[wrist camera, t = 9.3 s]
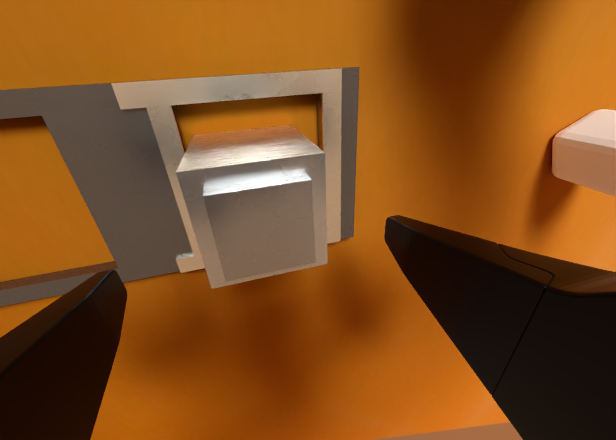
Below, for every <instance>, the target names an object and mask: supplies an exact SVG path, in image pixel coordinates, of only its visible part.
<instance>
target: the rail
mask: <svg viewBox="0 0 616 440" xmlns="http://www.w3.org/2000/svg"><path fill="white" fill-rule="evenodd" d="M358 89H359V67H351V68H336V69H320V70H305V71H289V72H274V73H258V74H243V75H227V76H212V77H196V78H181V79H165V80H150V81H134V82H119V83H103V84H88V85H72V86H57V87H41V88H26V89H10V90H0V119H7V118H19V117H31V116H42V117H43V119H44V121H45V123H46V125H47V127H48V129H49V131H50V133H51V135H52V137H53V139H54V141H55V143H56V145H57V147H58V149H59V151H60V153H61V155H62V157H63V159H64V161H65V163H66V165H67V167H68V169H69V171H70V173H71V175H72V177H73V179H74V181H75V183H76V185H77V187H78V189H79V191H80V192H81V194H82V196H83V198H84V200H85V202H86V204H87V206H88V208H89V210H90V212H91V214H92V216H93V218H94V220H95V222H96V224H97V226H98V228H99V230H100V232H101V234H102V236H103V238H104V240H105V242H106V244H107V246H108V248H109V250H110V252H111V254H112V256H113V258H114V260H115V261H114V262H108V263H103V264H97V265H92V266H86V267H81V268H75V269H70V270H64V271H59V272H54V273H48V274H43V275H37V276H32V277H26V278H21V279H15V280H10V281H4V282H0V307H1V306H6V305H11V304H16V303H21V302H27V301H32V300H37V299H42V298H47V297H52V296H57V295H62V294H66V293H68V292H69V291H71V290H72V289H74V288H75V287H77V286H78V285H80V284H81V283H82V282H84V281H85V280H87V279H88V278H90V277H91V276H93V275H94V274H96V273H97V272H100V271H105V270H111V269H113V270H116V271H117V272H118V274H119V276H120V278H121V280H122V282H128V281H133V280H138V279H143V278H148V277H153V276H158V275H163V274H168V273H173V272H178V271H180V273H183V272H188V271H193V270H198V269H203V268H205V266H204V263H203V259H202V256H201V253H200V250H199V246H198V243H197V240H196V237H195V233H194V230H193V227H192V224H191V220H190V217H189V214H188V211H187V207H186V204H185V201H184V197H183V194H182V191H181V188H180V184H179V181H178V178H177V175H176V171H177V169H178V166H179V164H180V162H181V160H182V158H183V156H184V154H185V152H184V148H183V144H182V141H181V137H180V134H179V130H178V126H177V123H176V119H175V116H174V112H173V108H172V105H182V104H194V103H206V102H219V101H231V100H243V99H255V98H267V97H279V96H291V95H303V94H315V93H317V117H318V146H319V148H320V149H321V150H322V151H324V152H325V168H326V213H327V244H329V243H334V242H339V241H341V239H345V238H350V237H353V233H354V205H355V176H356V147H357V118H358Z"/></svg>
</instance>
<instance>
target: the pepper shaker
mask: <svg viewBox="0 0 616 440" xmlns="http://www.w3.org/2000/svg"><path fill="white" fill-rule="evenodd" d="M552 173H553V175H554V176H556V177H557V178H559V179H562V180H566V181H569V182H572V183H575V184H578V185H581V186H584V187H587V188H590V189H594V190H597V191H600V192H603V193H606V194H609V195H612V196H615V197H616V110H606V109H603V110H597V111H593V112H591V113H589V114H587V115H586V116H584V117H583V118H581V119H579V120H578V121H576V122H574V123H573V124H571V125H569V126H568V127H566V128H565V129H563V130H561V131H560V132H558V133H557V134H556V135H555V137H554V139H553V145H552Z"/></svg>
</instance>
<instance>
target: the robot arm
mask: <svg viewBox="0 0 616 440" xmlns="http://www.w3.org/2000/svg"><path fill="white" fill-rule="evenodd" d="M385 242H386V244H387V245H388V247H389V249H390V251H391V253H392V254H393V256H394V258H395V260H396V261H397V263H398V265H399V267H400V268H401V270H402V272H403V273H404V275H405V276H406V278H407V279H408V281H409V282H410V284H411V285H412V286H413V288H414V289H415V290H416V292H417V293H418V295H419V296H420V297H421V299H422V300H423V301H424V303H425V304H426V306H427V307H428V308H429V310H430V311H431V313H432V314H433V315H434V317H435V318H436V319H437V321H438V322H439V324H440V325H441V326H442V328H443V329H444V331H445V332H446V333H447V335H448V336H449V337H450V339H451V340H452V342H453V343H454V344H455V346H456V347H457V349H458V350H459V351H460V353H461V354H462V355H463V357H464V358H465V360H466V361H467V362H468V364H469V365H470V367H471V368H472V369H473V371H474V372H475V373H476V375H477V376H478V378H479V379H480V380H481V382H482V383H483V385H484V386H485V387H486V389H487V390H488V391H489V393H490V394H491V395H492V397H493V399H494V400H495V401H496V403H497V404H498V406H499V407H500V408H501V410H502V411H503V413H504V414H505V415H506V417H507V418H508V419H509V421H510V422H511V424H512V425H513V426H514V428H515V429H516V430H517V432H518V433H519V435H520V436H521V437H522V439H523V440H616V272H612V271H607V270H602V269H598V268H594V267H590V266H585V265H581V264H577V263H573V262H568V261H564V260H560V259H556V258H552V257H548V256H543V255H539V254H535V253H531V252H528V251H524V250H520V249H517V248H513V247H509V246H506V245H502V244H497V243H495V242H491V241H488V240H484V239H481V238H477V237H474V236H470V235H467V234H463V233H460V232H456V231H452V230H449V229H445V228H442V227H438V226H435V225H431V224H428V223H424V222H421V221H417V220H414V219H410V218H407V217H403V216H399V215H396V216H390V217H388V218H387V220H386V226H385ZM126 301H127V290H126V288H125V286H124V284H123V282H122V280H121V278H120V276H119V274H118V272H117V271H116V270H113V269H111V270H105V271H100V272H97V273H96V274H94V275H93V276H91V277H90V278H88V279H87V280H85V281H84V282H82V283H81V284H80V285H78V286H77V287H75V288H74V289H72V290H71V291H69V292H68V293H66V294H65V295H63V296H62V297H60V298H59V299H57V300H56V301H54V302H53V303H51V304H50V305H48V306H47V307H45V308H44V309H42V310H41V311H39V312H38V313H37V314H35V315H34V316H32V317H31V318H29V319H28V320H26V321H25V322H23V323H22V324H20V325H19V326H17V327H16V328H14V329H13V330H11V331H10V332H8V333H7V334H5V335H4V336H2V337H1V338H0V440H90V438H91V435H92V432H93V428H94V425H95V422H96V418H97V415H98V412H99V409H100V405H101V402H102V399H103V395H104V392H105V389H106V385H107V382H108V379H109V375H110V372H111V369H112V365H113V362H114V359H115V355H116V352H117V348H118V345H119V341H120V336H121V330H122V324H123V319H124V313H125V307H126Z"/></svg>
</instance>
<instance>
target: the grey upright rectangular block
mask: <svg viewBox="0 0 616 440" xmlns="http://www.w3.org/2000/svg"><path fill="white" fill-rule="evenodd" d="M176 175H177V178H178V181H179V184H180V188H181V191H182V194H183V197H184V201H185V204H186V207H187V211H188V214H189V217H190V220H191V224H192V227H193V230H194V233H195V237H196V240H197V243H198V246H199V250H200V253H201V256H202V259H203V263H204V266H205V269H206V272H207V276H208V279H209V282H210V285H211V289H214V288H218V287H223V286H227V285H232V284H237V283H241V282H246V281H250V280H255V279H260V278H264V277H269V276H273V275H278V274H283V273H287V272H292V271H297V270H301V269H306V268H310V267H315V266H320V265H324V264H328V258H327V213H326V168H325V152H324V151H322V150H321V149H320V148H319V147H317V146H316V145H315V144H314V143H313V142H311V141H310V140H309V139H308V138H306V137H305V136H304V135H303V134H302V133H300V132H299V131H298V130H297V129H295V128H294V127H293V126H292V125H282V126H272V127H262V128H253V129H243V130H234V131H224V132H215V133H205V134H196V135H193V137H192V139H191V141H190V143H189V145H188V148H187V150H186V152H185V154H184V156H183V158H182V160H181V162H180V164H179V166H178V169H177V171H176Z"/></svg>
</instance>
